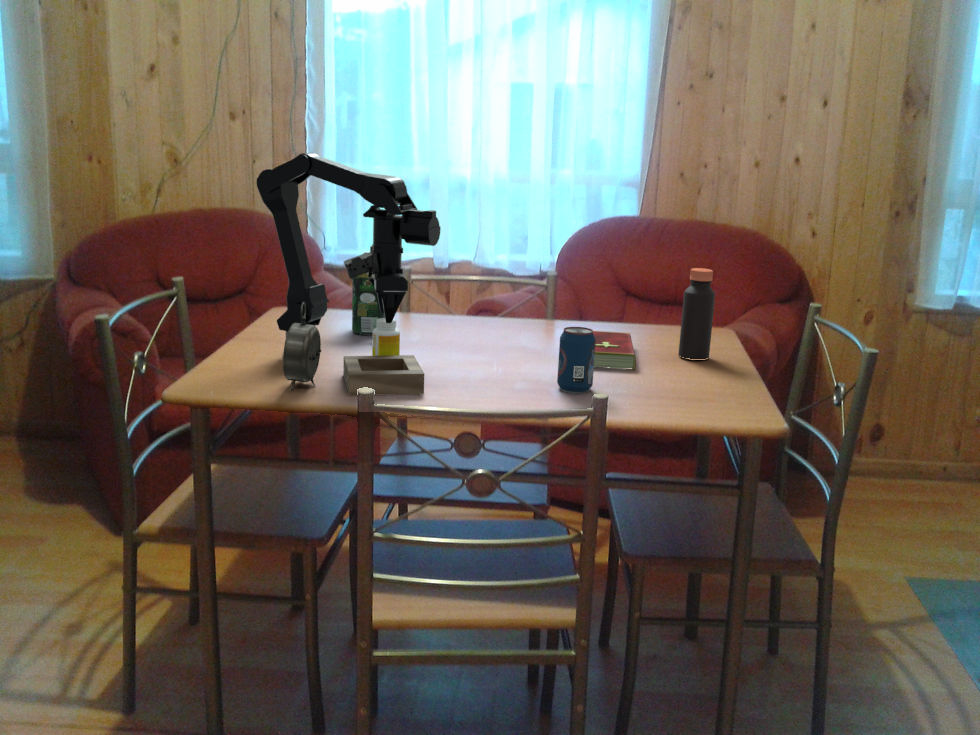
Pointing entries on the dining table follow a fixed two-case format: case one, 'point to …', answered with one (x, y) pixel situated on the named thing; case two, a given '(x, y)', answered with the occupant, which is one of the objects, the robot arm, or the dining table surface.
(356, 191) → the robot arm
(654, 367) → the dining table surface
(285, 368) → the alarm clock
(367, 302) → the coffee jar
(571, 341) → the soda can
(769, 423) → the dining table surface
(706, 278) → the vinegar
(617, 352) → the hardcover book
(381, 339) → the supplement bottle
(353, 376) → the well block
